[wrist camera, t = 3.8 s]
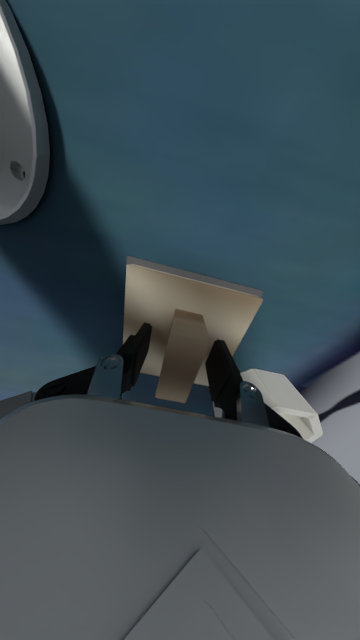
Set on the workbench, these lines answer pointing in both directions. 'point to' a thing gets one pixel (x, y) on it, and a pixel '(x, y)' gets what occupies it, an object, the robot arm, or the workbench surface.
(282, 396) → the bowl
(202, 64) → the workbench surface
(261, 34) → the workbench surface
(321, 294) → the workbench surface
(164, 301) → the beige plate with ridge
